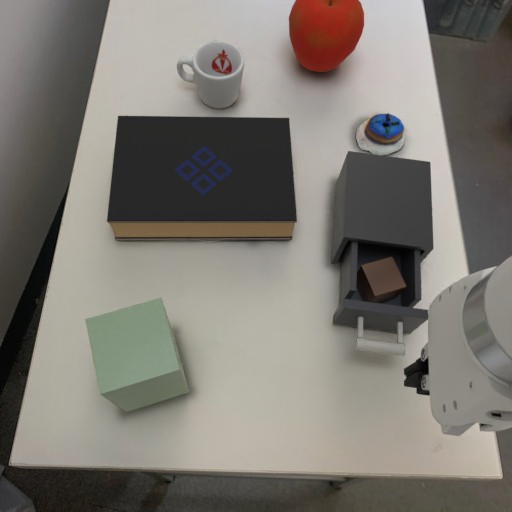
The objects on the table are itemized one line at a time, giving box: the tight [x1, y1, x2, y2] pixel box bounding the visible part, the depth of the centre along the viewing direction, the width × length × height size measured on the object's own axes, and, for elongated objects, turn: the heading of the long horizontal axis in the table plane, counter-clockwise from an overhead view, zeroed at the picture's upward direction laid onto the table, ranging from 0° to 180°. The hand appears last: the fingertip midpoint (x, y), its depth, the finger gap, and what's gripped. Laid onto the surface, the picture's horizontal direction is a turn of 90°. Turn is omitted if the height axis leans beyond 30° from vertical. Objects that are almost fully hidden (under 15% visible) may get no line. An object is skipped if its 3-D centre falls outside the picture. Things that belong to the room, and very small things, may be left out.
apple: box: [288, 0, 365, 73], centre depth 80 cm, size 12×12×14 cm
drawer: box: [332, 240, 429, 357], centre depth 65 cm, size 17×10×7 cm, turn 173°
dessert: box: [355, 113, 406, 156], centre depth 80 cm, size 8×7×6 cm
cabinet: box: [330, 150, 435, 266], centre depth 69 cm, size 14×12×9 cm
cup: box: [176, 40, 245, 109], centre depth 79 cm, size 11×8×8 cm
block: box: [356, 256, 407, 303], centre depth 65 cm, size 4×4×4 cm
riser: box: [85, 297, 190, 413], centre depth 56 cm, size 8×8×14 cm
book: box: [106, 115, 298, 241], centre depth 71 cm, size 17×25×7 cm
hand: (419, 380), depth 46 cm, fingers closed
